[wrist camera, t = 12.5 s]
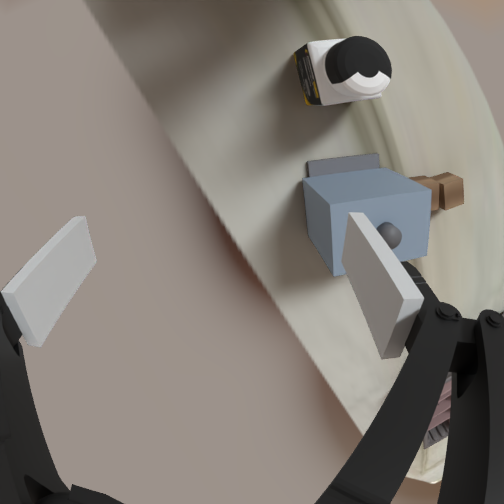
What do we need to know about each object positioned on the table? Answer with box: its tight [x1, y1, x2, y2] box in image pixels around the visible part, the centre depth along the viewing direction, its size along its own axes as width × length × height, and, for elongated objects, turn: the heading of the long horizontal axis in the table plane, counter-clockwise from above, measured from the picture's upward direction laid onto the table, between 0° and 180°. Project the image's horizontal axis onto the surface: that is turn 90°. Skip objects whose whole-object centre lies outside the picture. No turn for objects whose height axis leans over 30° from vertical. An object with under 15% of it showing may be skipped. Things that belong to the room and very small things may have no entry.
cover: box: [302, 168, 432, 277], centre depth 35 cm, size 8×12×13 cm, turn 99°
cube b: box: [430, 172, 464, 210], centre depth 39 cm, size 4×4×4 cm
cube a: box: [409, 176, 439, 211], centre depth 39 cm, size 4×4×4 cm
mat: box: [307, 153, 379, 177], centre depth 41 cm, size 12×10×1 cm
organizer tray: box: [423, 313, 504, 449], centre depth 62 cm, size 32×40×10 cm
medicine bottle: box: [294, 36, 392, 106], centre depth 28 cm, size 7×7×12 cm
